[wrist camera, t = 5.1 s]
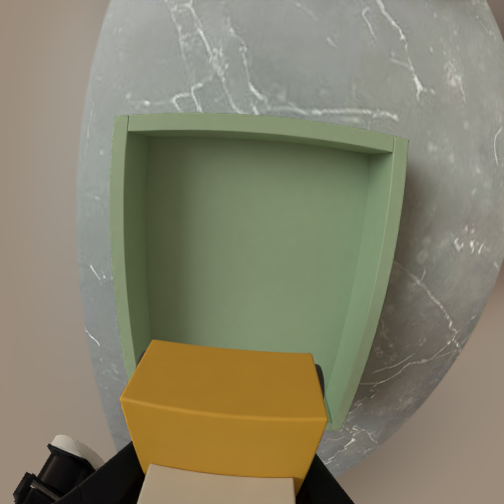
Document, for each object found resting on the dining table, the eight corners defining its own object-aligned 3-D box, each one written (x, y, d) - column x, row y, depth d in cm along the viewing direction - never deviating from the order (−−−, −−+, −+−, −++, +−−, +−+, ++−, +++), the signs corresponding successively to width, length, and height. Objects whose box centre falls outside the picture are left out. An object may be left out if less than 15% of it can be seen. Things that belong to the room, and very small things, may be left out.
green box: (150, 381, 20) (135, 413, 16) (142, 125, 15) (113, 116, 12) (331, 396, 20) (341, 430, 16) (380, 144, 15) (409, 139, 11)
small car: (281, 480, 9) (286, 571, 5) (172, 470, 9) (150, 558, 5) (320, 339, 7) (366, 488, 3) (148, 324, 7) (68, 455, 3)
